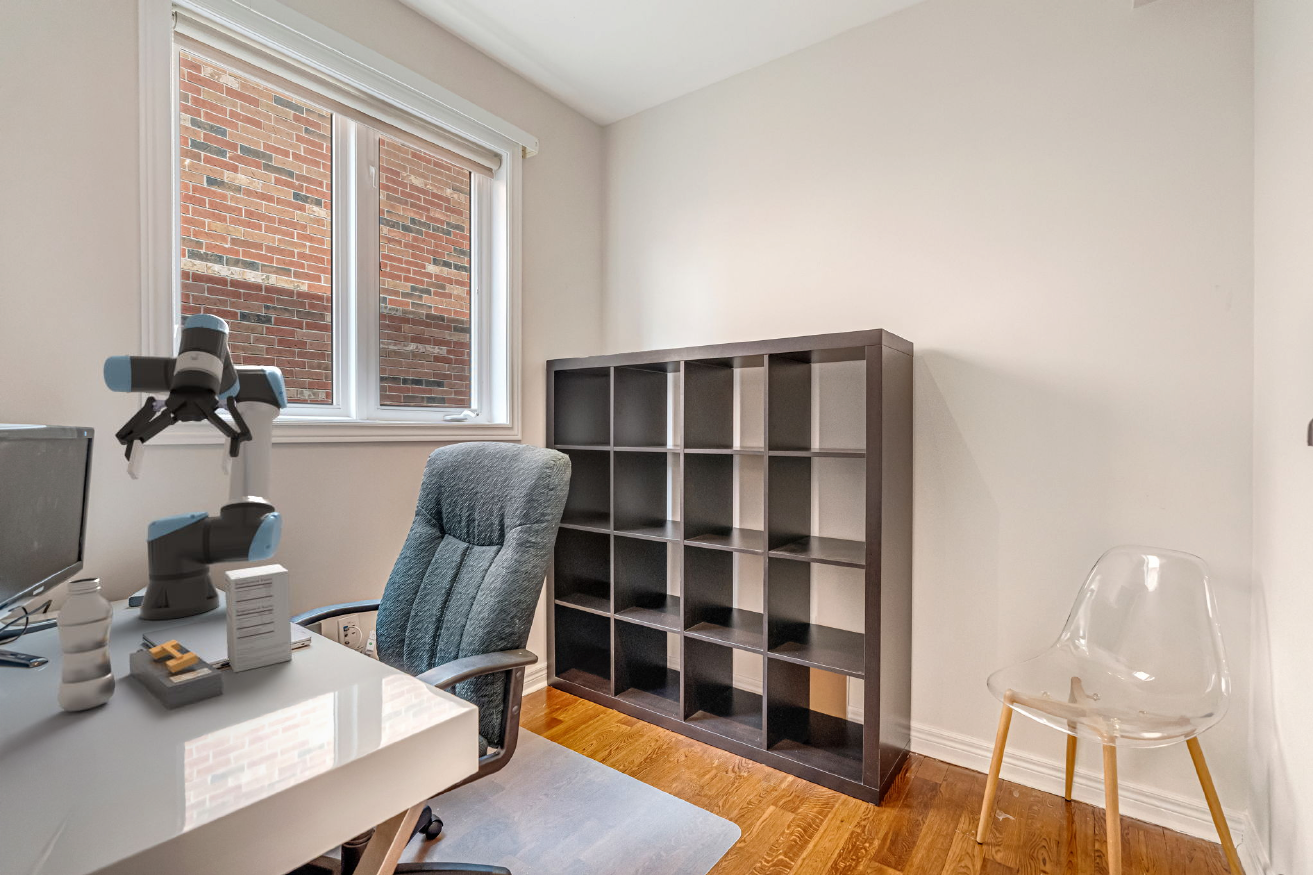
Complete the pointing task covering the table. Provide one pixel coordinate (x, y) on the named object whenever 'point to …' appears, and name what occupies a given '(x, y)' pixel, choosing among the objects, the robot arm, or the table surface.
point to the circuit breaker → (175, 679)
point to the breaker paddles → (179, 660)
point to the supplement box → (258, 617)
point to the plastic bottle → (85, 647)
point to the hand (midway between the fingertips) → (180, 473)
